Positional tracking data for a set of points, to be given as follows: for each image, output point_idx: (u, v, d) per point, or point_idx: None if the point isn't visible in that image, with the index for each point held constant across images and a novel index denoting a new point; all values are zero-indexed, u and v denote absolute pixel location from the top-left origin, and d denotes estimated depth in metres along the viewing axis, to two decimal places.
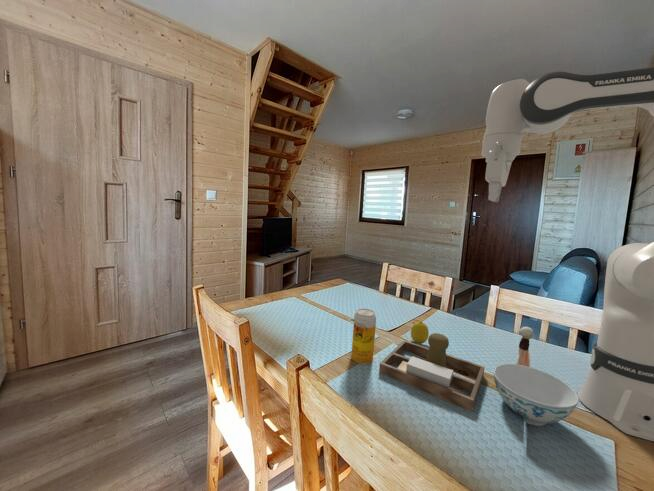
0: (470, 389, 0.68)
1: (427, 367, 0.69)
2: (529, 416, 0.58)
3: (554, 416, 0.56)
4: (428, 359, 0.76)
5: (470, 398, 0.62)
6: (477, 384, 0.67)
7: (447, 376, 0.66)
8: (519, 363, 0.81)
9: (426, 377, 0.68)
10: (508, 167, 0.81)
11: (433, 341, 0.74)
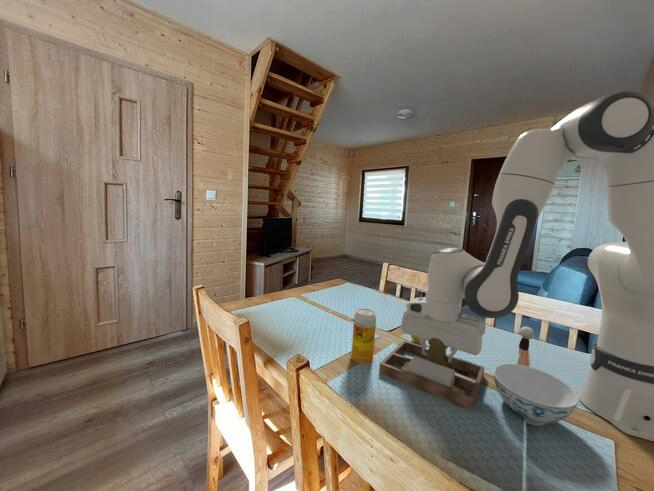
0: (470, 389, 0.68)
1: (429, 367, 0.69)
2: (529, 416, 0.58)
3: (554, 416, 0.56)
4: (428, 359, 0.76)
5: (470, 398, 0.62)
6: (477, 384, 0.67)
7: (448, 376, 0.66)
8: (519, 363, 0.81)
9: (427, 376, 0.68)
10: None
11: (433, 341, 0.74)
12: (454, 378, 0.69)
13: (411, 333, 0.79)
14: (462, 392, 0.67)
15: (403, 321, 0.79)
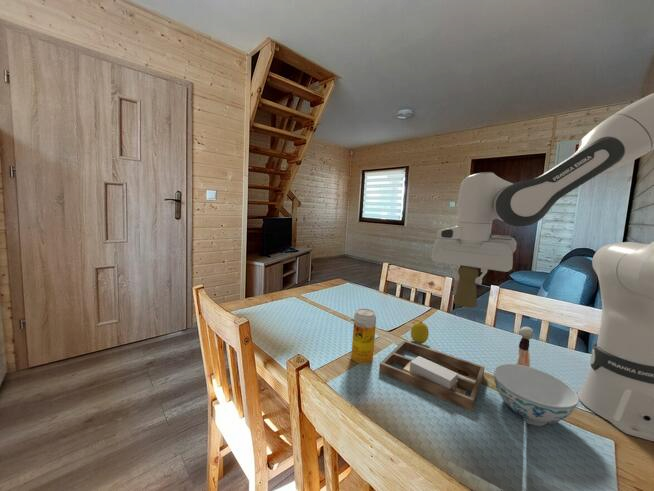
0: (470, 389, 0.68)
1: (430, 367, 0.69)
2: (529, 416, 0.58)
3: (554, 416, 0.56)
4: (459, 289, 0.80)
5: (470, 398, 0.62)
6: (477, 384, 0.67)
7: (448, 378, 0.65)
8: (519, 363, 0.81)
9: (428, 377, 0.68)
10: None
11: (465, 270, 0.78)
12: (457, 380, 0.68)
13: (442, 260, 0.82)
14: (463, 393, 0.67)
15: (434, 250, 0.82)
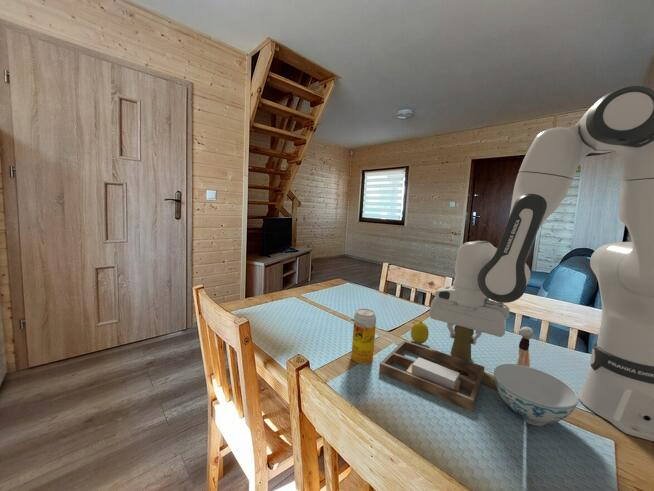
0: (470, 389, 0.68)
1: (433, 368, 0.69)
2: (529, 416, 0.58)
3: (554, 416, 0.56)
4: (455, 347, 0.84)
5: (470, 398, 0.62)
6: (477, 384, 0.67)
7: (452, 378, 0.66)
8: (519, 363, 0.81)
9: (431, 378, 0.68)
10: None
11: (460, 330, 0.82)
12: (460, 381, 0.69)
13: (439, 318, 0.86)
14: None
15: (431, 308, 0.87)
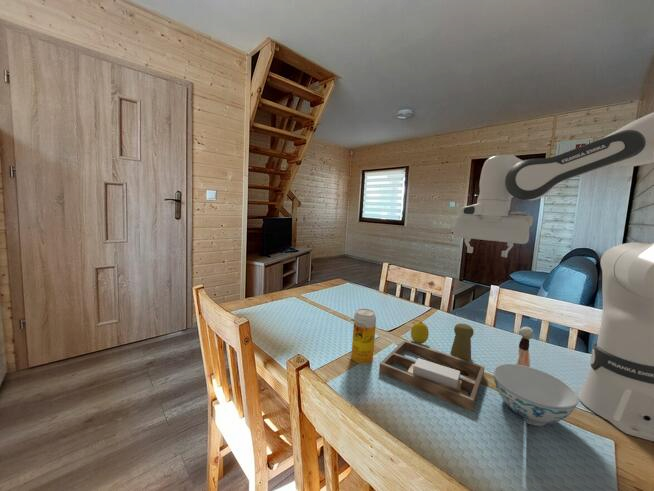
0: (470, 389, 0.68)
1: (434, 369, 0.69)
2: (529, 416, 0.58)
3: (554, 416, 0.56)
4: (455, 347, 0.84)
5: (470, 398, 0.62)
6: (477, 384, 0.67)
7: (454, 377, 0.66)
8: (519, 363, 0.81)
9: (433, 378, 0.68)
10: None
11: (460, 330, 0.82)
12: (461, 380, 0.68)
13: (463, 235, 0.90)
14: (465, 394, 0.67)
15: (456, 226, 0.91)
